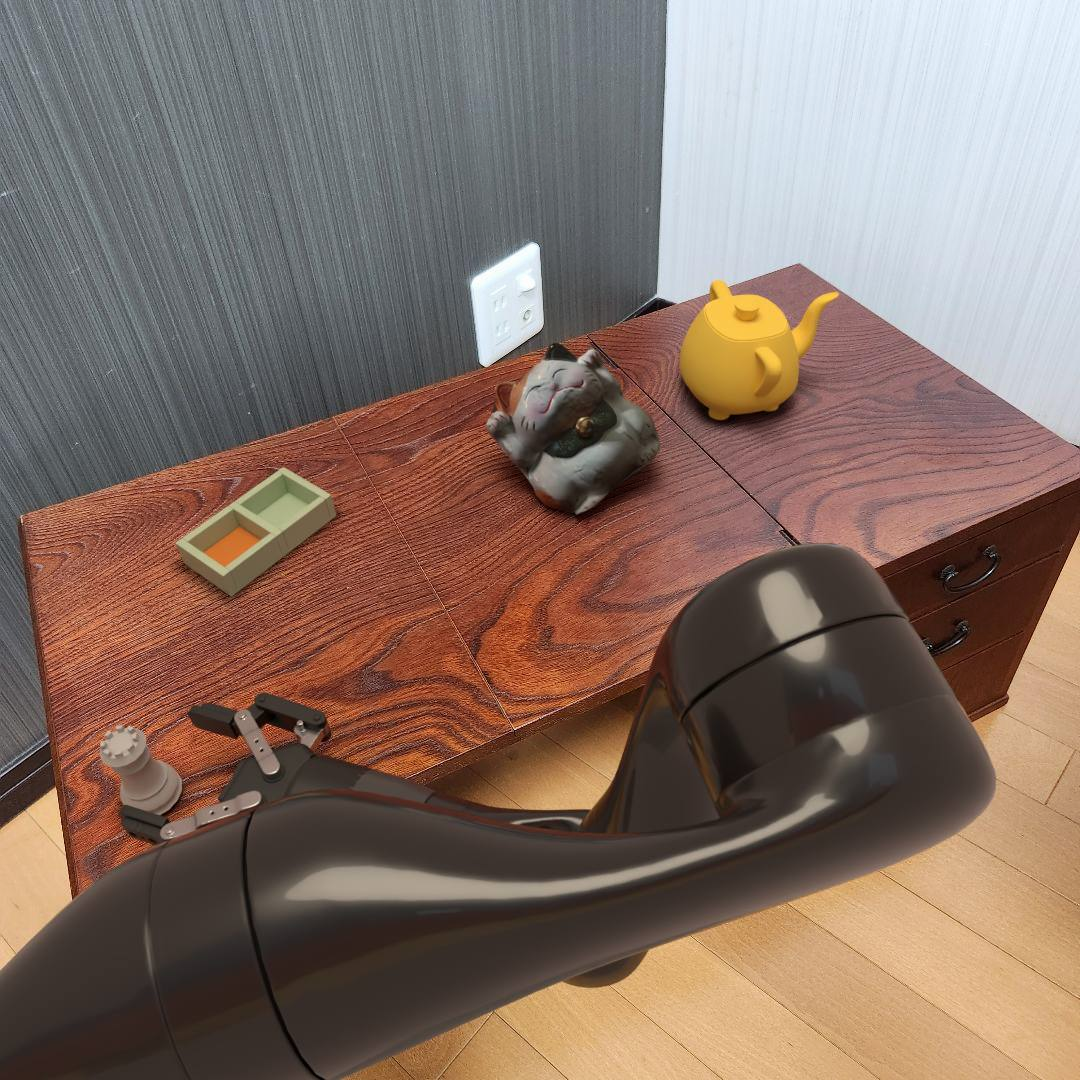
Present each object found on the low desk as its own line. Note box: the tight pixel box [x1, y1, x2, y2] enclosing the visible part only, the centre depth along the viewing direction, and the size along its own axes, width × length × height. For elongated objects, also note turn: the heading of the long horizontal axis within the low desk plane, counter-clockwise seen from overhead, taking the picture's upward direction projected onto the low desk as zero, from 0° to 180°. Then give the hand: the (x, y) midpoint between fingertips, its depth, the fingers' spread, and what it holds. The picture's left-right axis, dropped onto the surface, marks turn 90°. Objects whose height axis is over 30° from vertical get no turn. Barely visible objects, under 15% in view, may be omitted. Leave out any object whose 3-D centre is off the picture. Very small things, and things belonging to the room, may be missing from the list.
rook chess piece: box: [99, 724, 183, 816], centre depth 69 cm, size 4×4×8 cm
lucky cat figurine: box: [485, 342, 661, 516], centre depth 93 cm, size 15×12×14 cm
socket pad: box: [175, 466, 337, 598], centre depth 91 cm, size 13×7×3 cm, turn 142°
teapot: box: [678, 279, 840, 421], centre depth 101 cm, size 14×14×12 cm
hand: (159, 763), depth 67 cm, fingers open, 8 cm apart
